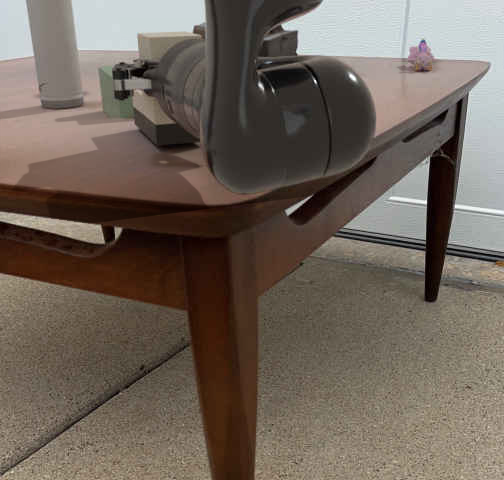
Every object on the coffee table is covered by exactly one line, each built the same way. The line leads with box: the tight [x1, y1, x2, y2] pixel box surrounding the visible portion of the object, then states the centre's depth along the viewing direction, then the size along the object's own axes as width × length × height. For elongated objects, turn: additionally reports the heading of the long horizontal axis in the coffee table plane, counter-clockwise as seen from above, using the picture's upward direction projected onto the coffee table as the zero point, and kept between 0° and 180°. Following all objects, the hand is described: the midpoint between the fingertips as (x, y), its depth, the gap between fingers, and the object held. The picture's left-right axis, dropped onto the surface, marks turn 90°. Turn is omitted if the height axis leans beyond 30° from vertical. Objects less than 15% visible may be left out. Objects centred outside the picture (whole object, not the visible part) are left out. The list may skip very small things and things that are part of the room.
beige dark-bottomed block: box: [132, 31, 201, 147], centre depth 71 cm, size 5×12×10 cm, turn 19°
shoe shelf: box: [97, 65, 134, 119], centre depth 93 cm, size 16×16×6 cm
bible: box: [192, 21, 299, 57], centre depth 140 cm, size 23×27×10 cm
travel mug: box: [25, 0, 85, 110], centre depth 99 cm, size 6×7×20 cm
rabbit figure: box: [405, 38, 440, 73], centre depth 135 cm, size 6×6×15 cm
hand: (164, 69), depth 70 cm, fingers closed on beige dark-bottomed block, 5 cm apart
